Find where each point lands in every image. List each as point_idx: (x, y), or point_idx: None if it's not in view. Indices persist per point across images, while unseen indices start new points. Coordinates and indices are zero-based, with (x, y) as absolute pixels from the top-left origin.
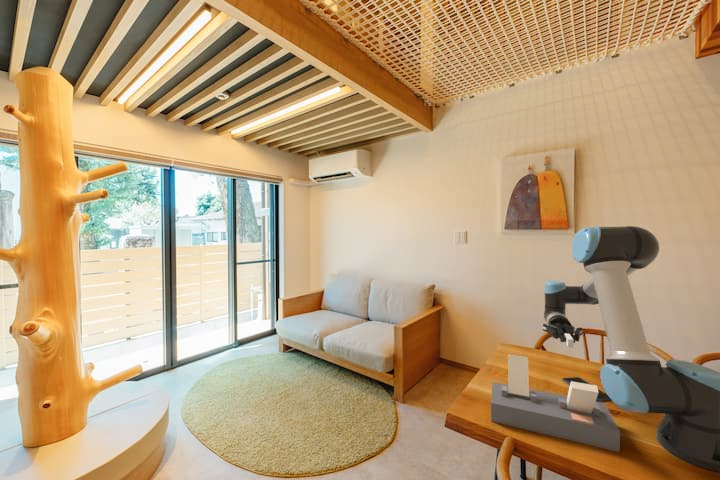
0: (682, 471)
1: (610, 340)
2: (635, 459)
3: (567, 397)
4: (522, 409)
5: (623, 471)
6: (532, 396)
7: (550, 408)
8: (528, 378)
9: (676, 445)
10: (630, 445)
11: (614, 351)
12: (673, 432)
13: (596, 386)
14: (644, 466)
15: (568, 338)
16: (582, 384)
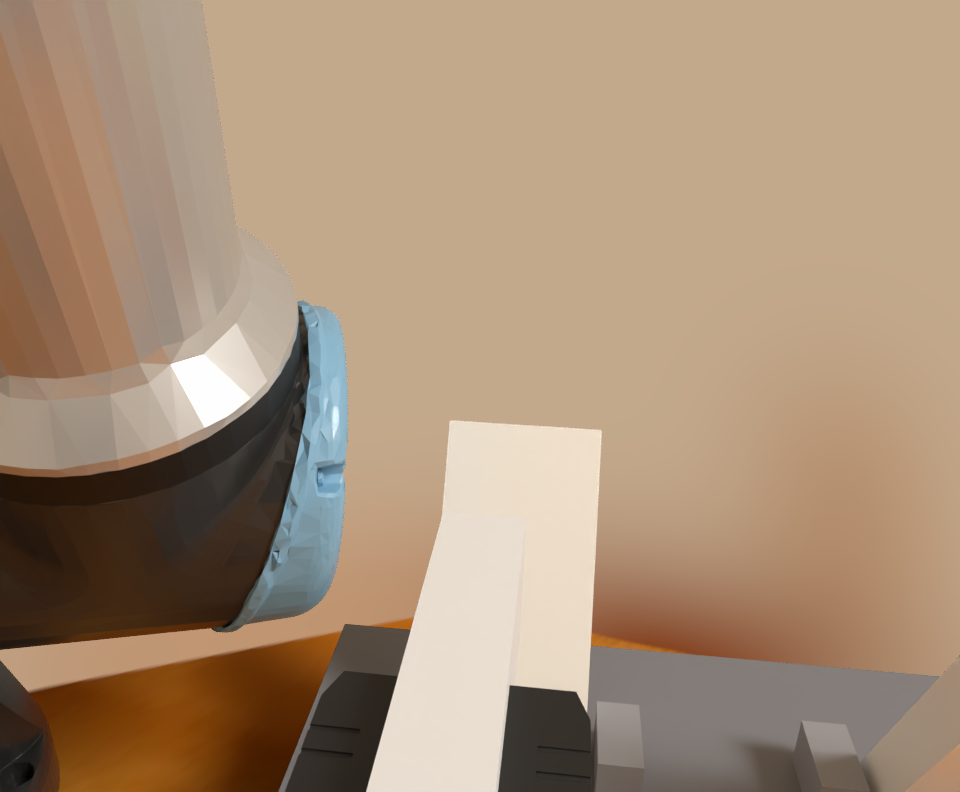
0: (138, 677)
1: (227, 173)
2: (303, 696)
3: (589, 657)
4: (864, 670)
5: (406, 625)
6: (833, 726)
7: (694, 721)
8: (913, 708)
9: (39, 717)
10: (248, 788)
11: (241, 251)
12: (7, 699)
13: (454, 421)
14: (293, 667)
15: (509, 543)
16: (533, 427)
